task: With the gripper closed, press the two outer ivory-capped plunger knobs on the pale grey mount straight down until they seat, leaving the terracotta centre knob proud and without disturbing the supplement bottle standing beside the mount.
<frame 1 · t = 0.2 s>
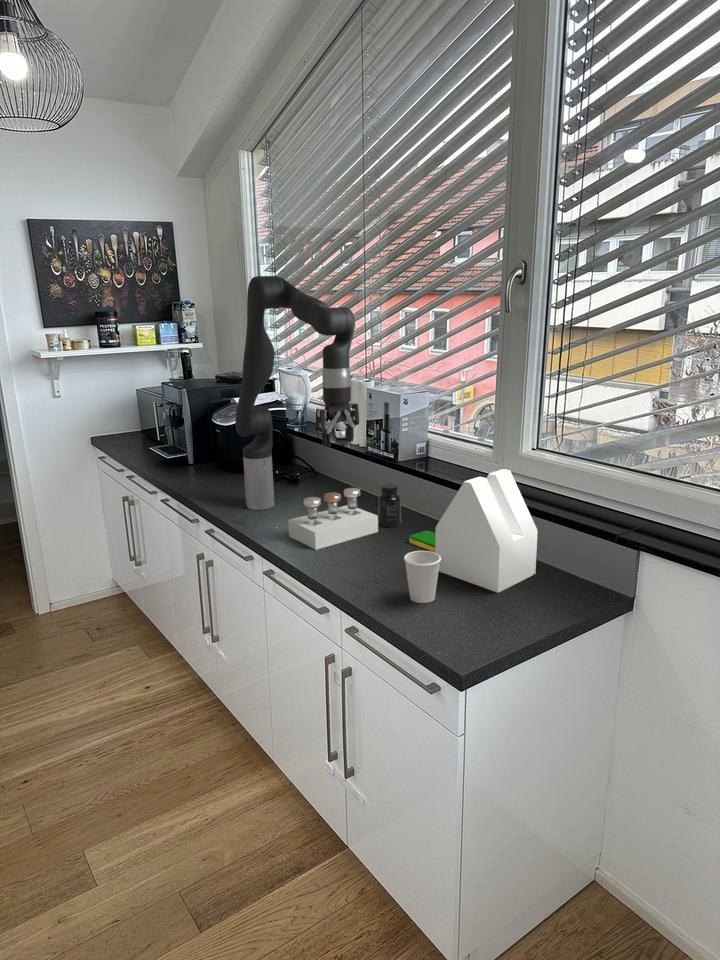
hand: (338, 444, 184), 28 cm above the worktop, fingers open, 8 cm apart
mount: (333, 534, 197), on the worktop
knob 2: (352, 499, 198), point 9 cm above the worktop, slide at 0.0 cm
knob centre: (332, 503, 194), point 9 cm above the worktop, slide at 0.0 cm
dish sponge: (435, 547, 186), on the worktop
white house-shaped block: (484, 572, 168), on the worktop
dixie cup: (422, 598, 155), on the worktop
knob 1: (312, 508, 190), point 9 cm above the worktop, slide at 0.0 cm
supplement bottle: (389, 524, 204), on the worktop
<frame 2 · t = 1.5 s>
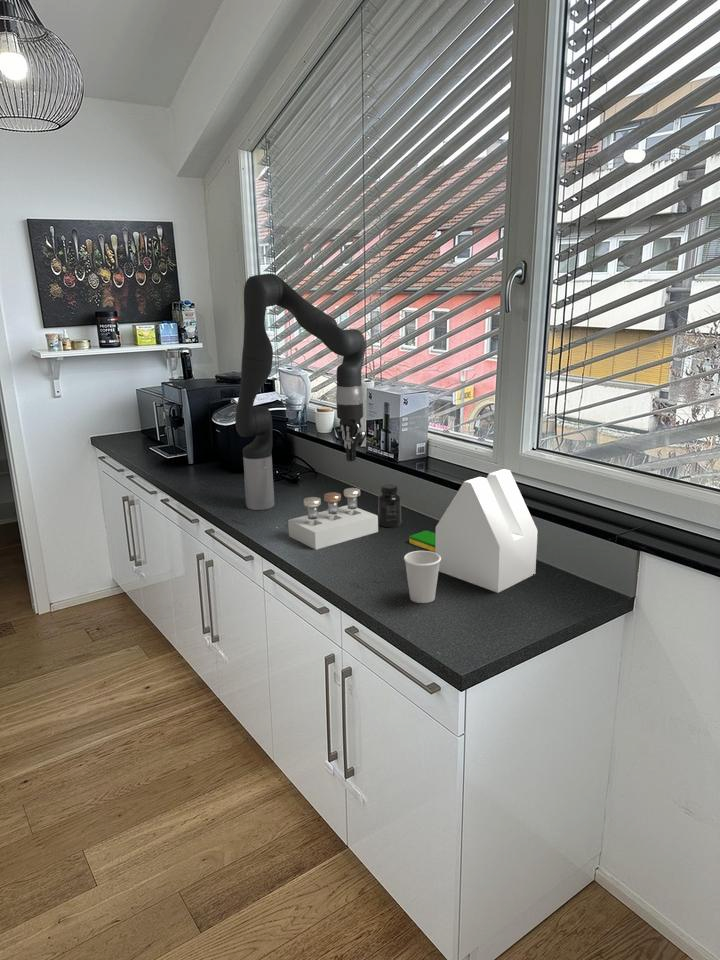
hand: (351, 460, 195), 21 cm above the worktop, fingers closed
nothing on the worktop moved.
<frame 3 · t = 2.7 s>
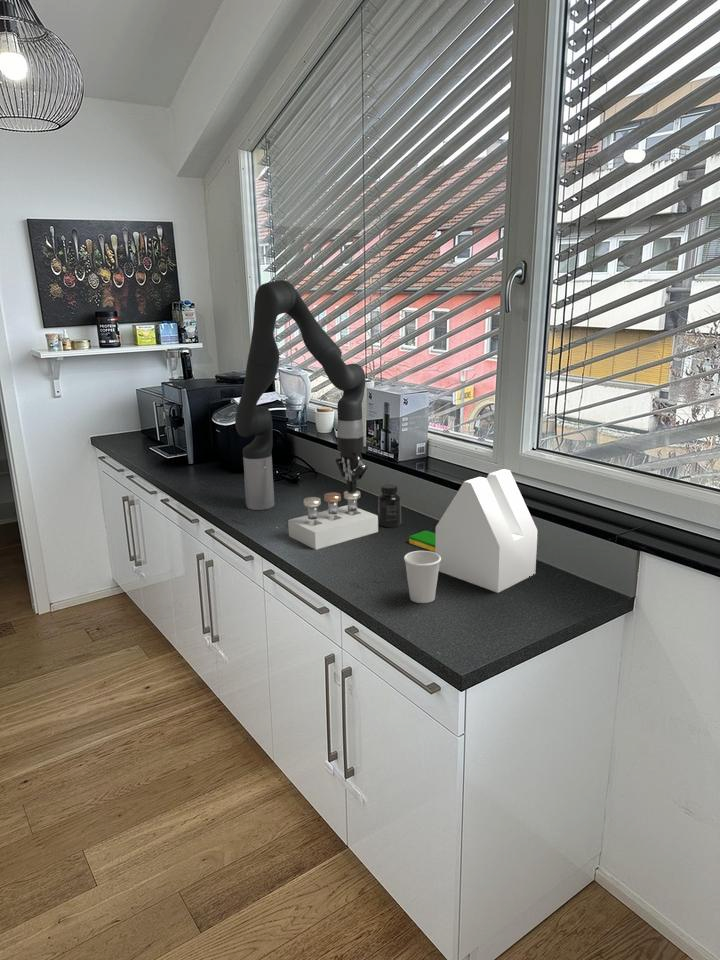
hand: (352, 492, 198), 11 cm above the worktop, fingers closed
knob 2: (352, 501, 199), point 9 cm above the worktop, slide at 0.7 cm, touching gripper
everything else where it was.
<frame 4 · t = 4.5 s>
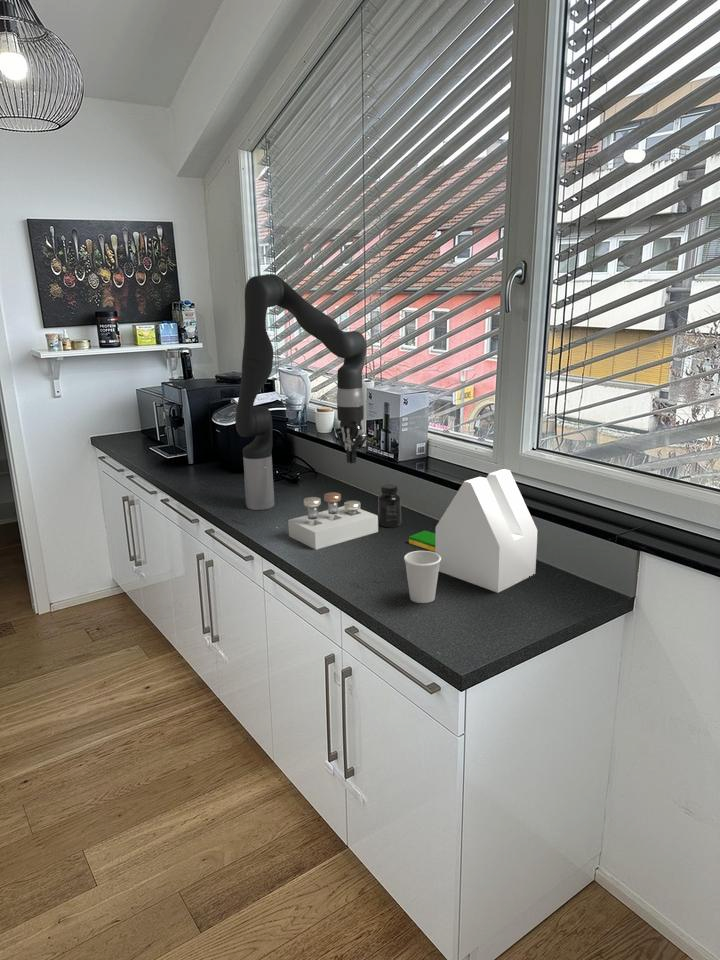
hand: (351, 462, 196), 20 cm above the worktop, fingers closed
knob 2: (352, 511, 200), point 5 cm above the worktop, slide at 3.9 cm
everything else where it was.
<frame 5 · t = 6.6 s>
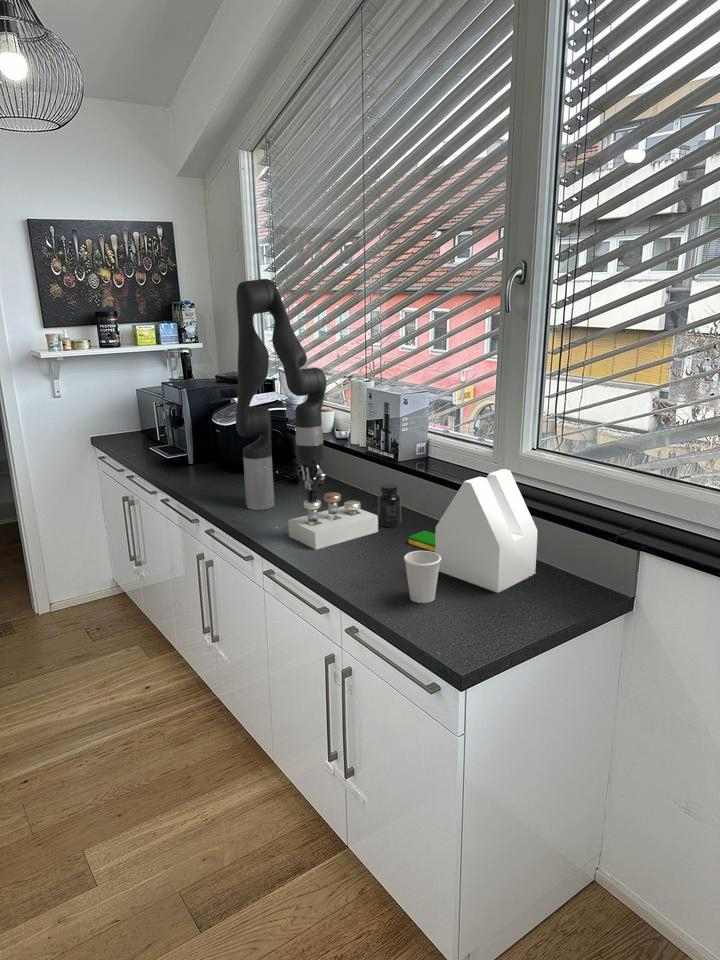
hand: (312, 501, 190), 11 cm above the worktop, fingers closed
knob 1: (312, 511, 191), point 9 cm above the worktop, slide at 0.7 cm, touching gripper
everything else where it was.
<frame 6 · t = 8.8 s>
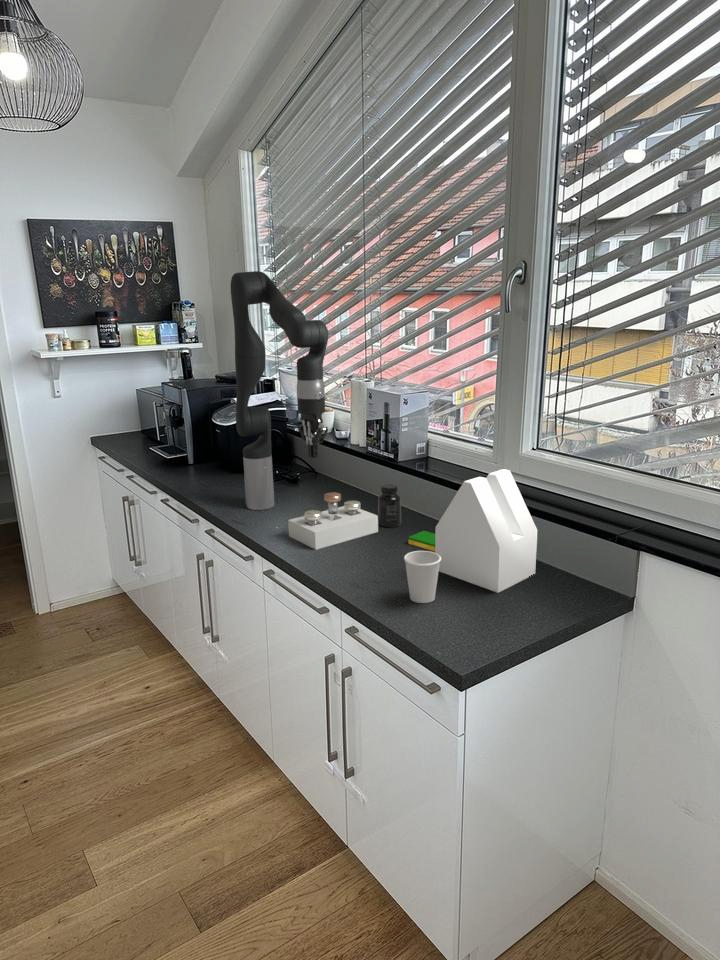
hand: (313, 457, 188), 24 cm above the worktop, fingers closed
knob 1: (313, 521, 191), point 5 cm above the worktop, slide at 3.9 cm
everything else where it was.
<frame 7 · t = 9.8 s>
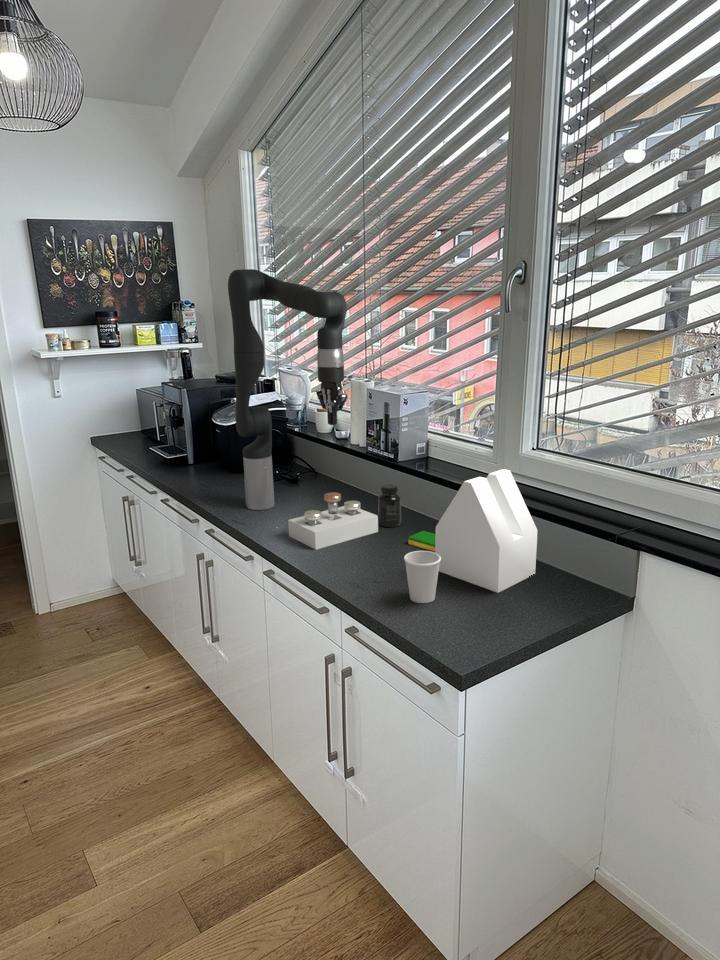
hand: (332, 424, 196), 31 cm above the worktop, fingers closed
nothing on the worktop moved.
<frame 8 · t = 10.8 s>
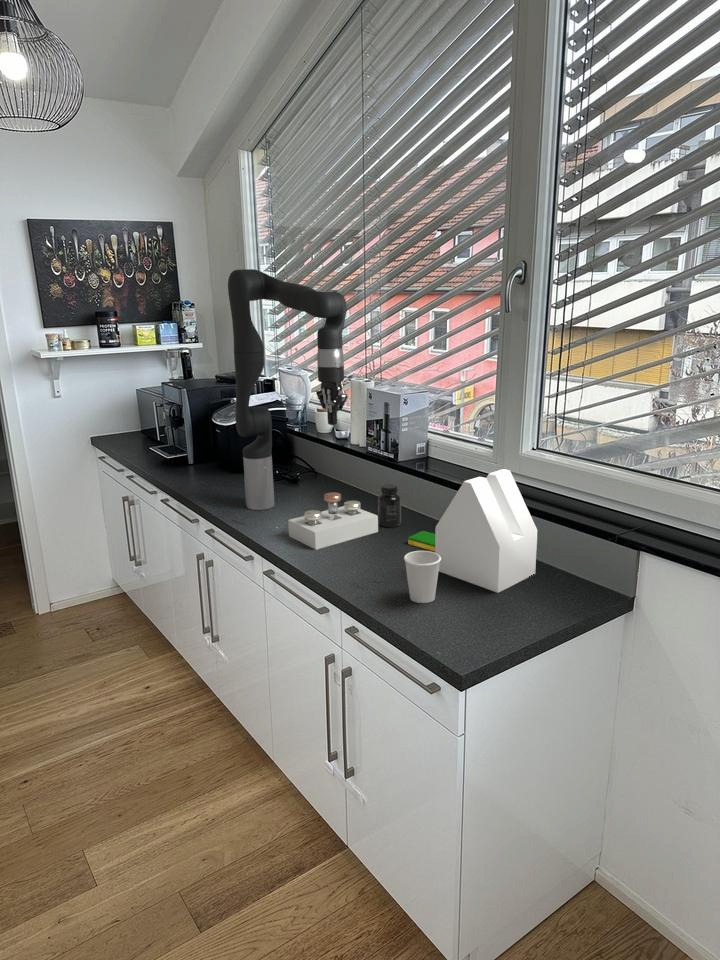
hand: (332, 424, 196), 31 cm above the worktop, fingers closed
nothing on the worktop moved.
at the end: knob 2 slide at 3.9 cm; knob 1 slide at 3.9 cm; supplement bottle moved 0.2 cm from its start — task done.
